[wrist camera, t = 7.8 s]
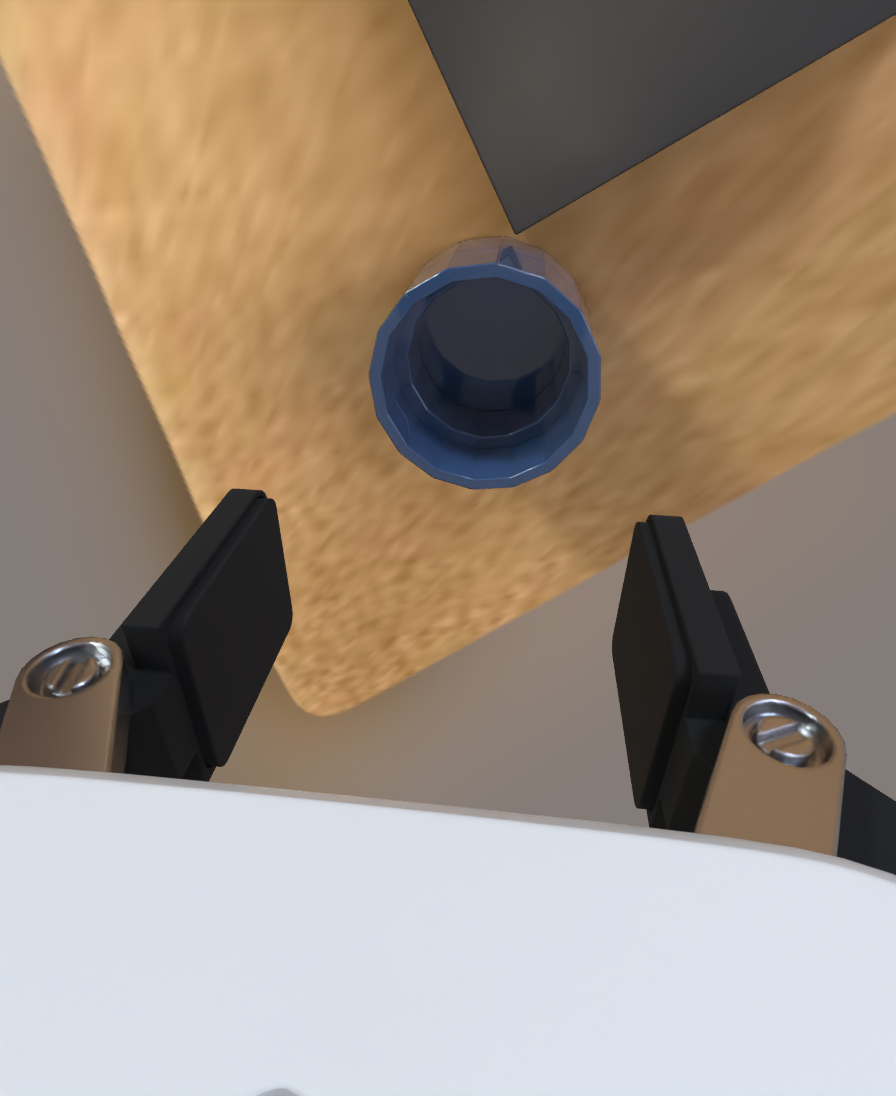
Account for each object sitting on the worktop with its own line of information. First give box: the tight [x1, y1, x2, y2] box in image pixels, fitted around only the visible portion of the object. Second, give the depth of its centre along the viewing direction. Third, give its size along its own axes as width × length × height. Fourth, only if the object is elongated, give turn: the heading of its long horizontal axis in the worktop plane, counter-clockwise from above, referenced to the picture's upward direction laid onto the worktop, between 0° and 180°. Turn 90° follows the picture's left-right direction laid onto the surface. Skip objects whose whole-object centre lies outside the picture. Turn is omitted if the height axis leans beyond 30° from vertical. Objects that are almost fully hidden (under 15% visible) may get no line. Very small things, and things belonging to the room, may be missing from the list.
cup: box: [369, 236, 601, 489], centre depth 23 cm, size 7×7×6 cm
